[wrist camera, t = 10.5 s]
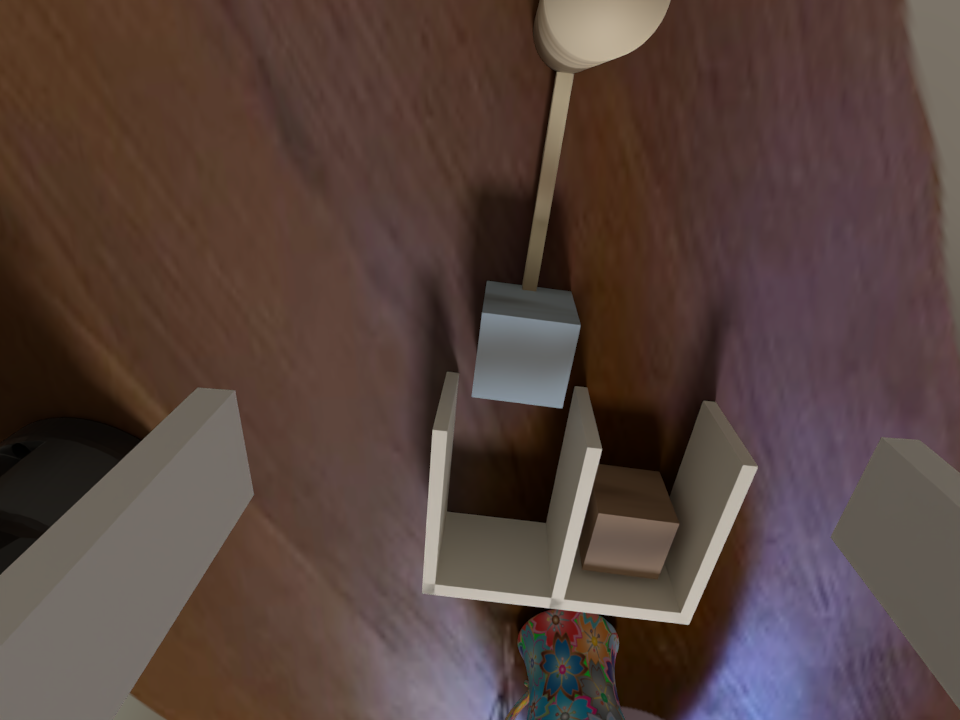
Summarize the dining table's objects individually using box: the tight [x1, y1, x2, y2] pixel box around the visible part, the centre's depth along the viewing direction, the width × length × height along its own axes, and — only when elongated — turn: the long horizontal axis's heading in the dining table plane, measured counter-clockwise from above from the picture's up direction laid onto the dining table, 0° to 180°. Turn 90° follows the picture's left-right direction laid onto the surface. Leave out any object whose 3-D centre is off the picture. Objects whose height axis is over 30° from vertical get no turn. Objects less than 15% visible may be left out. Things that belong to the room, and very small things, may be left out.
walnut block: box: [578, 464, 679, 580], centre depth 35 cm, size 5×5×5 cm
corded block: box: [472, 0, 671, 408], centre depth 23 cm, size 20×5×11 cm, turn 174°
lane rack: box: [422, 372, 758, 625], centre depth 33 cm, size 13×17×6 cm
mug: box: [505, 609, 625, 720], centre depth 40 cm, size 12×9×11 cm
